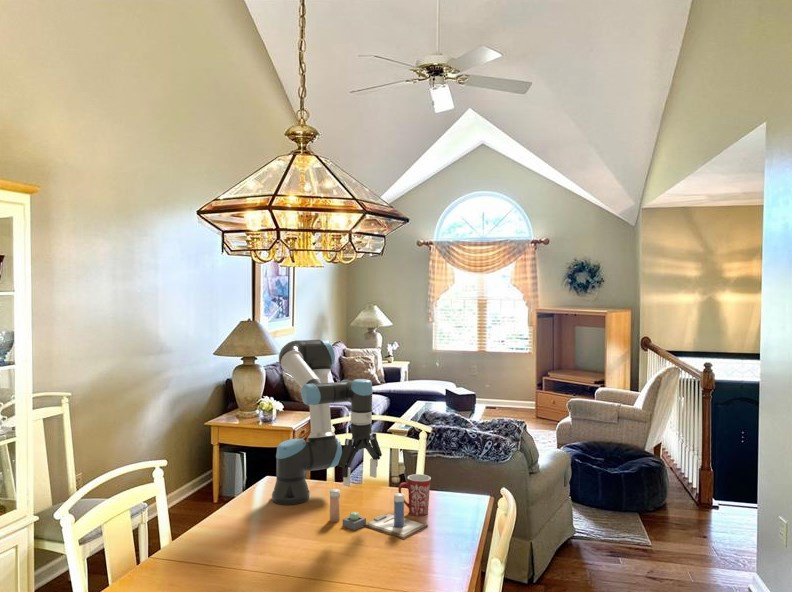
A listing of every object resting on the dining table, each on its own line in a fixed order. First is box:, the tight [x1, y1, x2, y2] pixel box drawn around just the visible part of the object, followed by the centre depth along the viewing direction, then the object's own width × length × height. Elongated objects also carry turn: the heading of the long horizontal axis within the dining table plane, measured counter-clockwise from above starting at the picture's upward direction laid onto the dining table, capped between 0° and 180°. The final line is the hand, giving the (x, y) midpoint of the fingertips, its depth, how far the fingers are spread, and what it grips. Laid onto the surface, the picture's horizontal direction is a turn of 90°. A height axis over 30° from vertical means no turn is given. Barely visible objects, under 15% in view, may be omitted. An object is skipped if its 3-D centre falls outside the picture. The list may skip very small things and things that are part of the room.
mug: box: [397, 473, 432, 517], centre depth 226 cm, size 13×9×14 cm
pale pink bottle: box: [329, 488, 341, 523], centre depth 217 cm, size 4×4×11 cm
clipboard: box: [363, 512, 429, 540], centre depth 212 cm, size 18×14×2 cm
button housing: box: [342, 515, 367, 531], centre depth 213 cm, size 6×6×2 cm
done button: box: [349, 511, 360, 522], centre depth 213 cm, size 3×3×2 cm
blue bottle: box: [393, 492, 405, 528], centre depth 210 cm, size 4×4×11 cm
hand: (360, 481), depth 213 cm, fingers open, 13 cm apart
